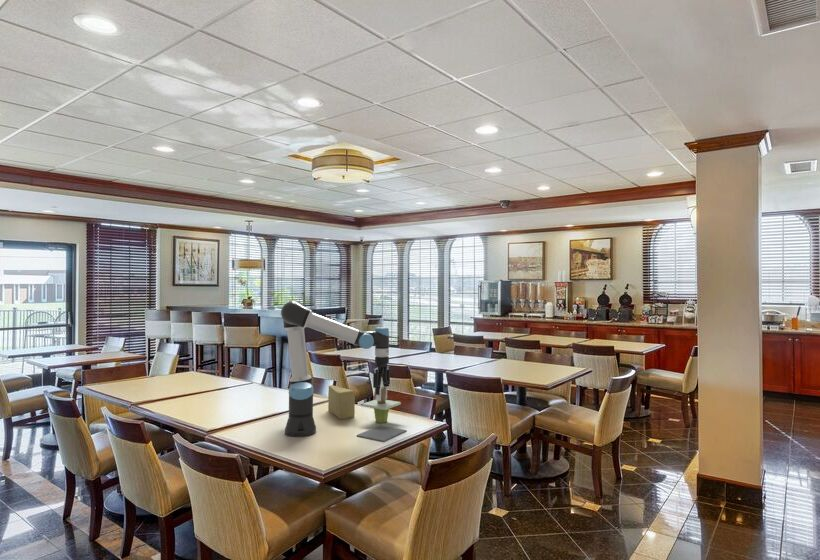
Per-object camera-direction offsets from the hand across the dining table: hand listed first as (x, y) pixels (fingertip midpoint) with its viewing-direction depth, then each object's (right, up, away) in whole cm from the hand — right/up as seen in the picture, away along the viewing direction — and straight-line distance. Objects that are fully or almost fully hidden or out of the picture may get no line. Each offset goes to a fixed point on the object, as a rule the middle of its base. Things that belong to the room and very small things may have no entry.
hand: (381, 399), depth 254 cm
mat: (+2, -11, -22) cm, 25 cm away
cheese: (-26, -12, +14) cm, 32 cm away
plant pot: (0, -12, 0) cm, 12 cm away
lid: (0, -3, 0) cm, 3 cm away
